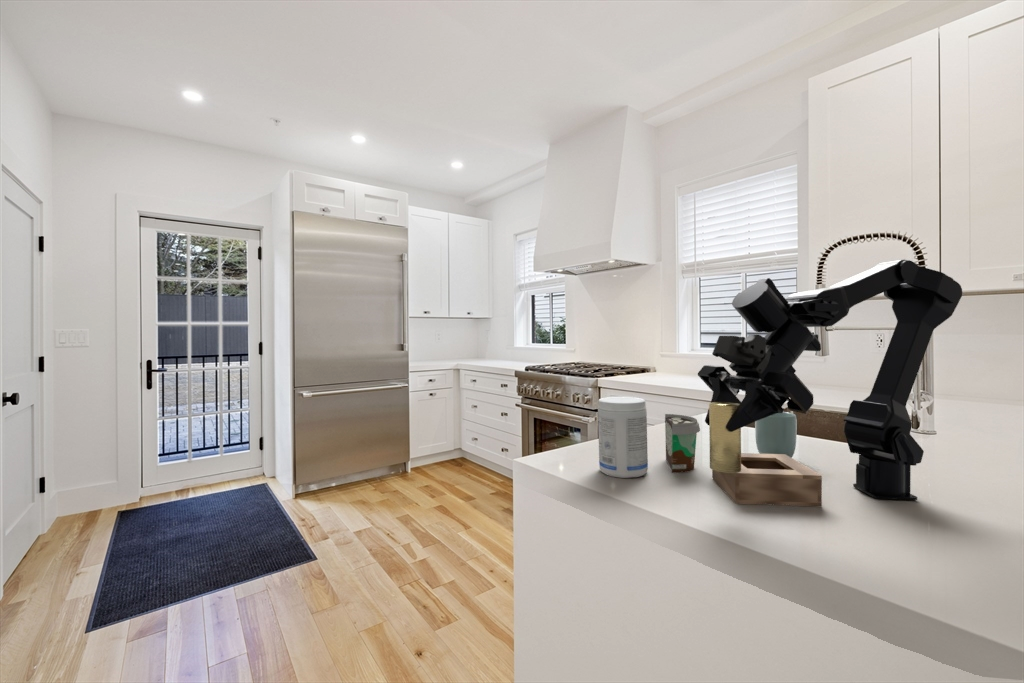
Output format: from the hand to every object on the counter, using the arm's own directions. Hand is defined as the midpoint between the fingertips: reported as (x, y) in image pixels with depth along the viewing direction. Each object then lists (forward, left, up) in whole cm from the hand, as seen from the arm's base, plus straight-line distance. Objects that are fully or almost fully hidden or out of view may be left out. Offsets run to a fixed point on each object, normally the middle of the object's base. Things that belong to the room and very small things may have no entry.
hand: (717, 426), depth 71 cm
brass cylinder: (-1, -1, -7) cm, 7 cm away
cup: (-22, -34, -14) cm, 42 cm away
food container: (-1, -26, -14) cm, 29 cm away
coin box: (-11, -12, -14) cm, 21 cm away
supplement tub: (+12, -21, -14) cm, 28 cm away
